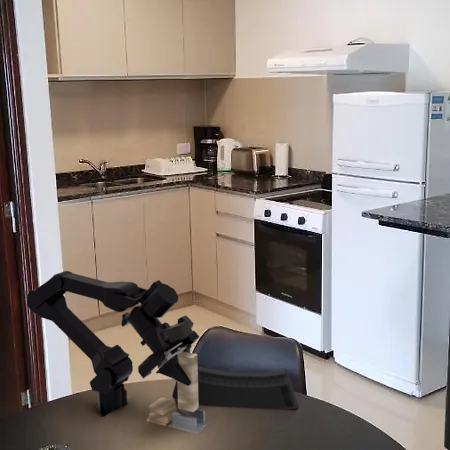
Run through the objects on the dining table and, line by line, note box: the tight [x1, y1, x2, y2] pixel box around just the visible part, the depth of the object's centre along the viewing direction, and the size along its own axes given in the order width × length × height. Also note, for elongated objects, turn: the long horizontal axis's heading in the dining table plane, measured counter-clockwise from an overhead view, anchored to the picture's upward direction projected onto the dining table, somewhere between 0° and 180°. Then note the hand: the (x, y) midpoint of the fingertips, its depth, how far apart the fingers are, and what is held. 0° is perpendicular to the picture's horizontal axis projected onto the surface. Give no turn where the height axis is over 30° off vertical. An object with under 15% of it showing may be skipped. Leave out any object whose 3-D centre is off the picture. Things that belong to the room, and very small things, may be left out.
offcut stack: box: [146, 397, 180, 427], centre depth 153 cm, size 5×6×4 cm
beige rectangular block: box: [176, 351, 200, 412], centre depth 148 cm, size 4×2×13 cm, turn 63°
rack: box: [167, 408, 211, 435], centre depth 150 cm, size 8×6×4 cm
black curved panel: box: [171, 365, 299, 410], centre depth 159 cm, size 17×3×30 cm
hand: (192, 382), depth 148 cm, fingers closed on beige rectangular block, 2 cm apart
